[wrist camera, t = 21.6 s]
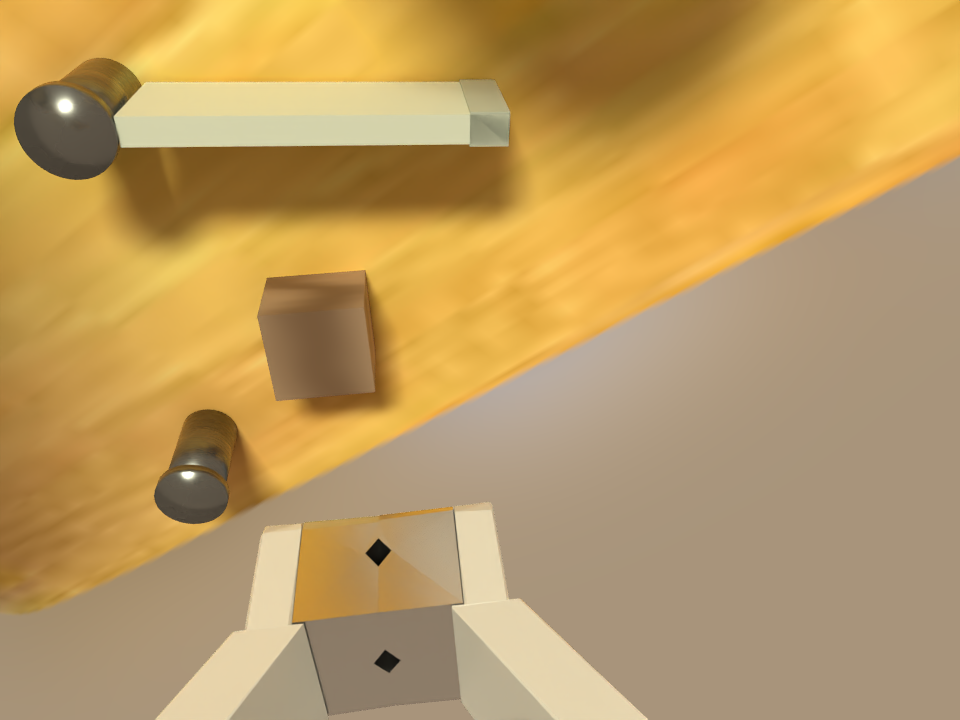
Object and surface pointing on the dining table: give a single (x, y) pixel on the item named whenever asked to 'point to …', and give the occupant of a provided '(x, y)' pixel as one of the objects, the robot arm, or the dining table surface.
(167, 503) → the gate posts
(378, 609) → the robot arm
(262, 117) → the bar
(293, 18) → the dining table surface
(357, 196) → the dining table surface
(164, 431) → the dining table surface
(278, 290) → the walnut block
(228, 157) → the dining table surface
